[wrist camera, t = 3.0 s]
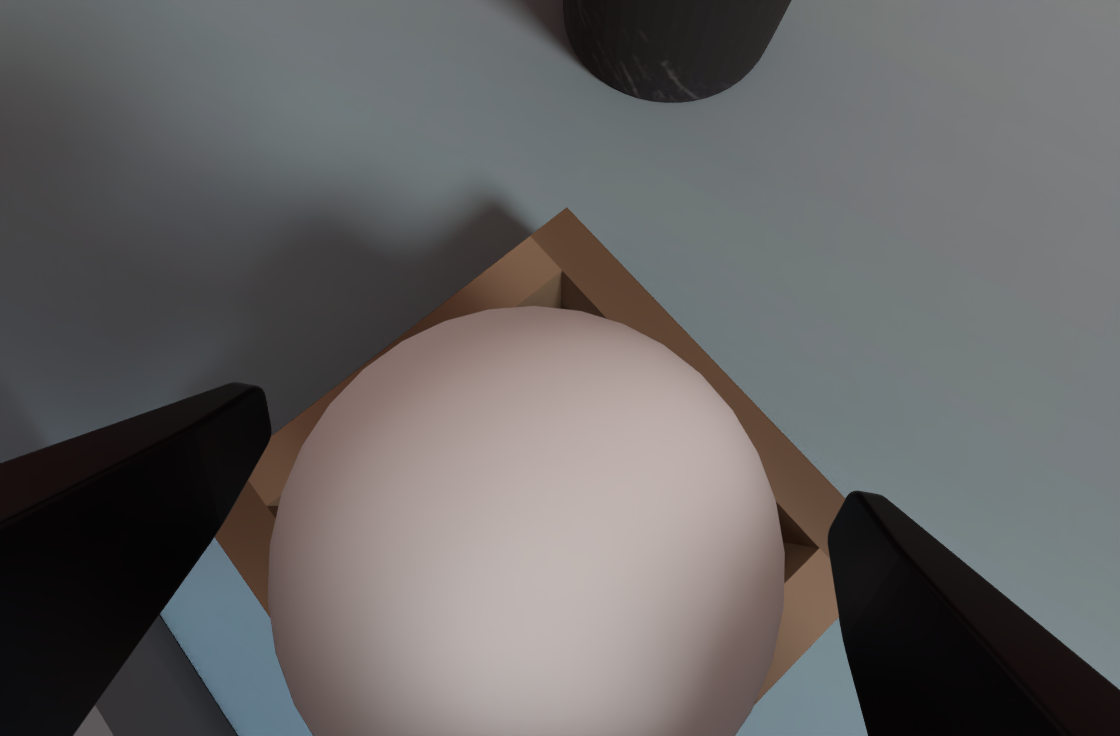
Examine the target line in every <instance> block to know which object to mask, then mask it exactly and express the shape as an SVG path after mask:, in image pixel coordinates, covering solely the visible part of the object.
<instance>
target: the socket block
mask: <svg viewBox="0 0 1120 736" xmlns="http://www.w3.org/2000/svg"><path fill="white" fill-rule="evenodd" d="M526 306H540V307H549V308H558V309H567V310H576V311H582V312H586V313H589V314H592V315H595V316H599V317H602V318H605V319H609V320H612V321H615V322H618V323H622V324H625V325H626V326H628V327H630V328H632V329H634V330H636V331H638V332H640V333H642V334H644V335H646V336H648V337H649V338H651V339H653V340H655V341H657V342H659V343H661V344H663V345H665V346H666V347H667V348H668V349H670V350H671V351H672V352H673V353H675V354H676V355H677V356H679V357H680V358H681V359H682V360H684V361H685V362H686V363H687V364H689V365H690V366H691V367H693V368H694V369H695V370H696V371H698V372H699V373H700V374H701V375H702V376H703V377H704V378H705V379H706V381H707V382H708V383H709V384H710V385H711V386H712V387H713V389H714V390H715V391H716V392H717V393H718V394H719V395H720V396H721V398H722V399H723V400H724V401H725V402H726V403H727V404H728V406H729V407H730V408H731V409H732V410H733V412H734V414H735V415H736V417H737V419H738V420H739V422H740V424H741V425H742V427H743V429H744V430H745V432H746V434H747V435H748V437H749V439H750V440H751V442H752V444H753V445H754V447H755V449H756V451H757V452H758V454H759V457H760V460H761V462H762V465H763V468H764V471H765V473H766V476H767V479H768V481H769V484H770V487H771V489H772V492H773V495H774V498H775V500H776V505H777V511H778V517H779V523H780V529H781V534H782V540H783V546H784V552H785V561H784V608H783V613H782V618H781V622H780V627H779V632H778V637H777V642H776V647H775V652H774V656H773V661H772V663H771V665H770V668H769V670H768V673H767V675H766V677H765V680H764V682H763V685H762V687H761V689H760V692H759V694H758V697H757V699H756V701H755V704H756V703H757V702H758V701H759V700H760V699H761V698H762V697H763V695H764V694H765V693H766V692H767V691H768V690H769V689H770V688H771V687H772V686H773V685H774V684H775V683H776V682H777V681H778V680H779V679H780V678H781V677H782V676H783V675H784V674H785V672H786V671H787V670H788V669H789V668H790V667H791V666H792V665H793V664H794V663H795V662H796V661H797V660H798V659H799V658H800V657H801V656H802V655H803V654H804V653H805V652H806V651H807V650H808V648H809V647H810V646H811V645H812V644H813V643H814V642H815V641H816V640H817V639H818V638H819V637H820V636H821V635H822V634H823V633H824V632H825V631H826V630H827V629H828V628H829V627H830V626H831V624H832V623H833V622H834V621H835V620H836V619H837V618H838V617H839V614H838V608H837V601H836V595H835V588H834V582H833V576H832V569H831V563H830V556H829V550H828V532H829V529H830V526H831V524H832V522H833V521H834V519H835V517H836V515H837V513H838V511H839V510H840V508H841V506H842V504H843V502H844V500H845V498H844V497H843V496H842V495H841V493H840V492H839V491H838V490H837V489H836V488H835V487H834V486H833V485H832V484H831V483H830V482H829V481H828V480H827V479H826V478H825V477H824V476H823V475H822V474H821V473H820V472H819V470H818V469H817V468H816V467H815V466H814V465H813V464H812V463H811V462H810V461H809V460H808V459H807V458H806V457H805V456H804V455H803V454H802V453H801V452H800V451H799V450H798V449H797V447H796V446H795V445H794V444H793V443H792V442H791V441H790V440H789V439H788V438H787V437H786V436H785V435H784V434H783V433H782V432H781V431H780V430H779V429H778V428H777V427H776V426H775V424H774V423H773V422H772V421H771V420H770V419H769V418H768V417H767V416H766V415H765V414H764V413H763V412H762V411H761V410H760V409H759V408H758V407H757V406H756V405H755V404H754V403H753V401H752V400H751V399H750V398H749V397H748V396H747V395H746V394H745V393H744V392H743V391H742V390H741V389H740V388H739V387H738V386H737V385H736V384H735V383H734V382H733V381H732V380H731V378H730V377H729V376H728V375H727V374H726V373H725V372H724V371H723V370H722V369H721V368H720V367H719V366H718V365H717V364H716V363H715V362H714V361H713V360H712V359H711V358H710V356H709V355H708V354H707V353H706V352H705V351H704V350H703V349H702V348H701V347H700V346H699V345H698V344H697V343H696V342H695V341H694V340H693V339H692V338H691V337H690V336H689V335H688V333H687V332H686V331H685V330H684V329H683V328H682V327H681V326H680V325H679V324H678V323H677V322H676V321H675V320H674V319H673V318H672V317H671V316H670V315H669V314H668V313H667V312H666V310H665V309H664V308H663V307H662V306H661V305H660V304H659V303H658V302H657V301H656V300H655V299H654V298H653V297H652V296H651V295H650V294H649V293H648V292H647V291H646V290H645V289H644V287H643V286H642V285H641V284H640V283H639V282H638V281H637V280H636V279H635V278H634V277H633V276H632V275H631V274H630V273H629V272H628V271H627V270H626V269H625V268H624V267H623V266H622V264H621V263H620V262H619V261H618V260H617V259H616V258H615V257H614V256H613V255H612V254H611V253H610V252H609V251H608V250H607V249H606V248H605V247H604V246H603V245H602V244H601V243H600V241H599V240H598V239H597V238H596V237H595V236H594V235H593V234H592V233H591V232H590V231H589V230H588V229H587V228H586V227H585V226H584V225H583V224H582V223H581V222H580V221H579V220H578V218H577V217H576V216H575V215H574V214H573V213H572V212H571V211H570V210H569V209H568V208H565V209H564V210H563V211H562V212H560V213H559V214H558V215H556V216H555V217H554V218H553V219H551V220H550V221H549V222H547V223H546V224H545V225H543V226H542V227H541V228H540V229H538V230H537V231H536V232H534V233H533V234H532V235H531V236H529V237H528V238H527V239H525V240H524V241H523V242H522V243H520V244H519V245H518V246H516V247H515V248H514V249H513V250H511V251H510V252H509V253H507V254H506V255H505V256H503V257H502V258H501V259H500V260H498V261H497V262H496V263H494V264H493V265H492V266H491V267H489V268H488V269H487V270H485V271H484V272H483V273H482V274H480V275H479V276H478V277H476V278H475V279H474V280H473V281H471V282H470V283H469V284H467V285H466V286H465V287H463V288H462V289H461V290H460V291H458V292H457V293H456V294H454V295H453V296H452V297H451V298H449V299H448V300H447V301H445V302H444V303H443V304H442V305H440V306H439V307H438V308H436V309H435V310H434V311H432V312H431V313H430V314H429V315H427V316H426V317H425V318H423V319H422V320H421V321H420V322H418V323H417V324H416V325H414V326H413V327H412V328H411V329H409V330H408V331H407V332H405V333H404V334H403V335H402V336H400V337H399V338H398V339H396V340H395V341H394V342H392V343H391V344H390V345H389V346H387V347H386V348H385V349H383V350H382V351H381V352H380V353H378V354H377V355H376V356H374V357H373V358H372V359H371V360H369V361H368V362H367V363H365V364H364V365H363V366H362V367H360V368H359V369H358V370H356V371H355V372H354V373H352V374H351V375H350V376H349V377H347V378H346V379H345V380H343V381H342V382H341V383H340V384H338V385H337V386H336V387H334V388H333V389H332V390H331V391H329V392H328V393H327V394H325V395H324V396H323V397H321V398H320V399H319V400H318V401H316V402H315V403H314V404H312V405H311V406H310V407H309V408H307V409H306V410H305V411H303V412H302V413H301V414H300V415H298V416H297V417H296V418H294V419H293V420H292V421H291V422H289V423H288V424H287V425H285V426H284V427H283V428H281V429H280V430H279V431H278V432H276V433H275V434H274V435H272V436H271V438H270V441H269V444H268V446H267V447H266V449H265V451H264V453H263V455H262V456H261V458H260V460H259V462H258V463H257V465H256V467H255V469H254V471H253V472H252V474H251V476H250V478H249V479H248V481H247V483H246V485H245V487H244V488H243V490H242V492H241V494H240V495H239V497H238V499H237V501H236V503H235V504H234V506H233V508H232V510H231V511H230V513H229V515H228V517H227V518H226V520H225V521H224V523H223V525H222V526H221V528H220V529H219V531H218V532H217V534H216V535H215V538H216V540H217V541H218V542H219V544H220V545H221V547H222V548H223V550H224V551H225V553H226V554H227V556H228V557H229V558H230V560H231V561H232V563H233V564H234V566H235V567H236V569H237V570H238V572H239V573H240V575H241V576H242V577H243V579H244V580H245V582H246V583H247V585H248V586H249V588H250V589H251V591H252V592H253V593H254V595H255V596H256V598H257V599H258V601H259V602H260V604H261V605H262V607H263V608H264V609H265V611H266V612H267V614H268V615H269V617H270V611H269V605H268V576H269V551H270V542H271V537H272V533H273V529H274V524H275V520H276V515H277V511H278V507H279V502H280V498H281V494H282V491H283V489H284V487H285V484H286V482H287V480H288V477H289V475H290V473H291V470H292V468H293V466H294V463H295V461H296V459H297V456H298V454H299V452H300V449H301V447H302V445H303V444H304V442H305V441H306V439H307V438H308V436H309V435H310V433H311V432H312V430H313V429H314V427H315V426H316V424H317V423H318V421H319V420H320V418H321V417H322V415H323V414H324V412H325V411H326V409H327V408H328V406H329V405H330V403H331V402H332V401H333V400H334V399H335V398H336V397H337V396H338V395H339V394H340V393H341V392H342V391H343V390H344V389H345V388H346V387H347V386H348V385H349V384H350V383H351V382H352V381H353V380H354V379H355V378H356V376H357V375H358V374H359V373H360V372H361V371H362V370H363V369H364V368H366V367H367V366H369V365H370V364H371V363H373V362H374V361H376V360H377V359H378V358H380V357H381V356H382V355H384V354H385V353H387V352H388V351H389V350H391V349H392V348H394V347H395V346H396V345H398V344H399V343H400V342H402V341H404V340H406V339H408V338H410V337H412V336H414V335H416V334H419V333H421V332H423V331H425V330H427V329H429V328H431V327H433V326H435V325H437V324H440V323H442V322H444V321H447V320H451V319H455V318H458V317H462V316H466V315H470V314H473V313H477V312H481V311H485V310H488V309H500V308H513V307H526ZM755 704H754V705H755Z"/></svg>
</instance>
